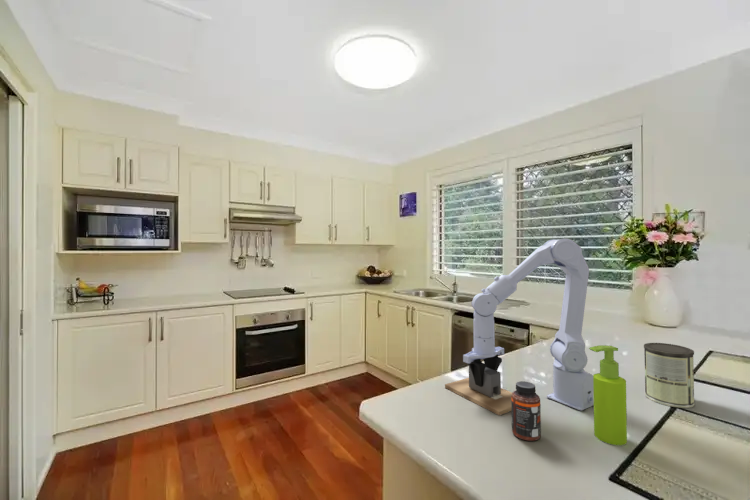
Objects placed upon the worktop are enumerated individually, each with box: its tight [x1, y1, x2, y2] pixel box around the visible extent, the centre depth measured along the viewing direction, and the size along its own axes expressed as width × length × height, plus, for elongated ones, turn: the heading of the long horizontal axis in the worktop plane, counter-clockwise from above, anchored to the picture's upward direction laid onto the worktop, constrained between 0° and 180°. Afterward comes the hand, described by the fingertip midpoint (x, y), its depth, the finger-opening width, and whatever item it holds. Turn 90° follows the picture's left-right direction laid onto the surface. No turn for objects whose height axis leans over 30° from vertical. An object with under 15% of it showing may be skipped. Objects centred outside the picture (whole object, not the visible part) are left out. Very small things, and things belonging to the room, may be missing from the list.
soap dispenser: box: [588, 344, 628, 446], centre depth 73 cm, size 6×7×20 cm
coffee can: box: [643, 342, 696, 409], centre depth 91 cm, size 10×10×14 cm
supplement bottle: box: [511, 380, 542, 442], centre depth 75 cm, size 6×6×11 cm
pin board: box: [444, 377, 513, 416], centre depth 96 cm, size 20×12×3 cm, turn 30°
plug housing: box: [468, 366, 502, 397], centre depth 96 cm, size 8×4×6 cm, turn 30°
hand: (484, 383), depth 96 cm, fingers closed on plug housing, 4 cm apart
